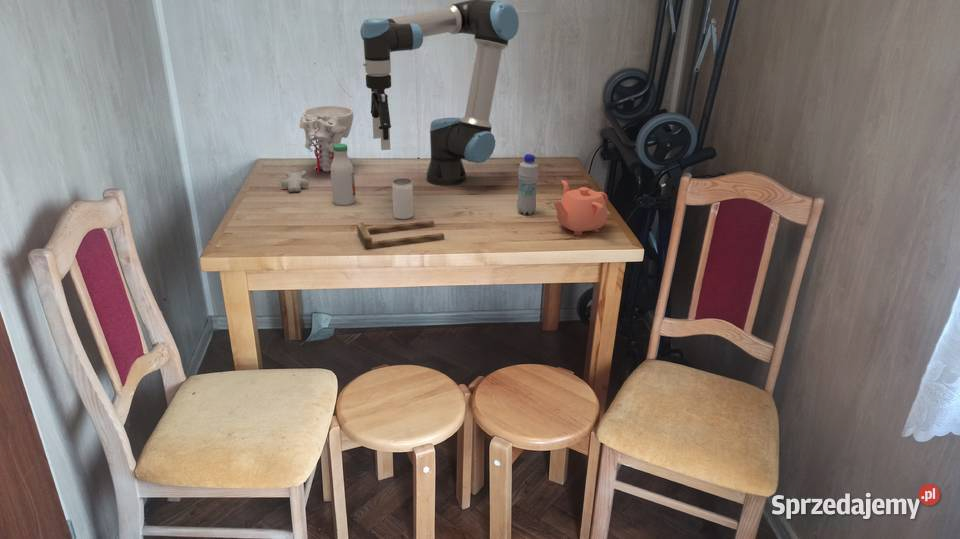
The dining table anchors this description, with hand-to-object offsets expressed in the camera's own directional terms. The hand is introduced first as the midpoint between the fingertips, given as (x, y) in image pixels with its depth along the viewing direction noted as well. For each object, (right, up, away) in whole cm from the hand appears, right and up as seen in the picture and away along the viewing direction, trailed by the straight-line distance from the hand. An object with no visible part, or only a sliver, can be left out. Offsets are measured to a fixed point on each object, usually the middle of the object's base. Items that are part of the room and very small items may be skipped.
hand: (381, 143), depth 202 cm
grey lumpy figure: (-36, -10, +33) cm, 50 cm away
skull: (-27, -1, +49) cm, 56 cm away
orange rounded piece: (+62, -26, +3) cm, 67 cm away
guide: (+8, -29, -6) cm, 31 cm away
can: (+6, -22, +9) cm, 25 cm away
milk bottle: (-16, -16, +20) cm, 30 cm away
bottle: (+46, -21, +14) cm, 53 cm away
